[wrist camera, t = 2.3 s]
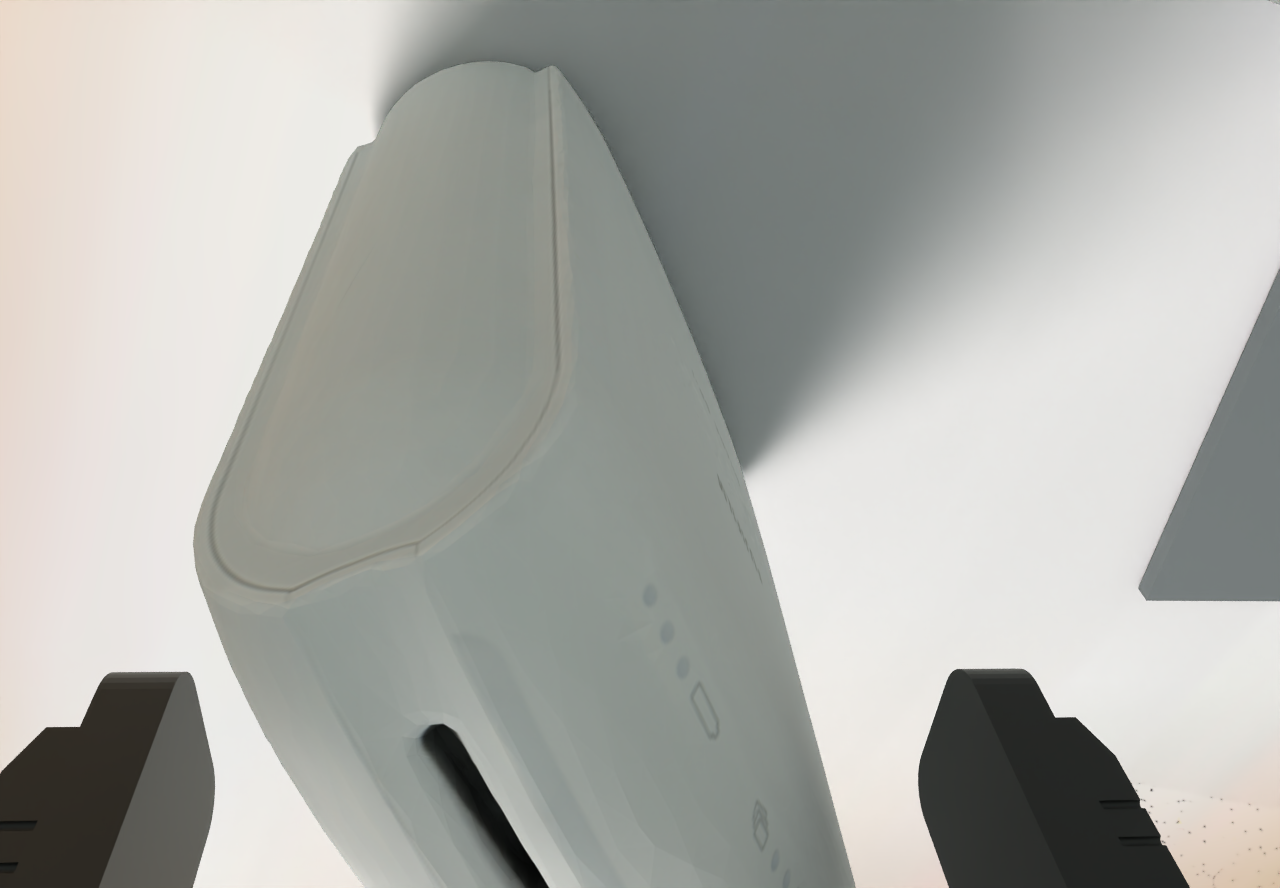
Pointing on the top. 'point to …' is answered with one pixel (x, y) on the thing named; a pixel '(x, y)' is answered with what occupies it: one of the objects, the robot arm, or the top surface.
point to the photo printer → (508, 532)
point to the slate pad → (1231, 489)
